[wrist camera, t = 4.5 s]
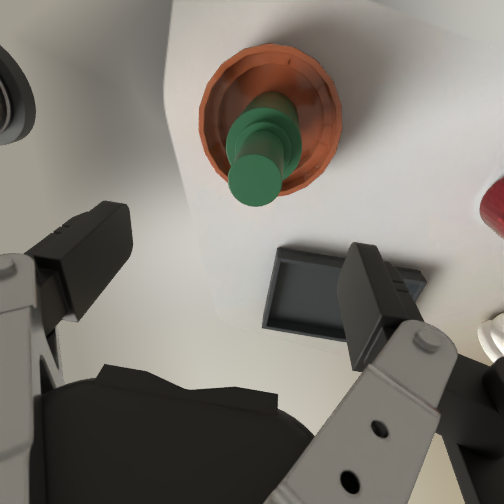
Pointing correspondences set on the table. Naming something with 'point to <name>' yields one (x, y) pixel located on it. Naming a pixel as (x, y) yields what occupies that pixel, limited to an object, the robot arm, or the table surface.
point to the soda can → (494, 207)
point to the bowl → (278, 80)
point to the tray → (313, 294)
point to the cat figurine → (492, 337)
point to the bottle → (263, 148)
